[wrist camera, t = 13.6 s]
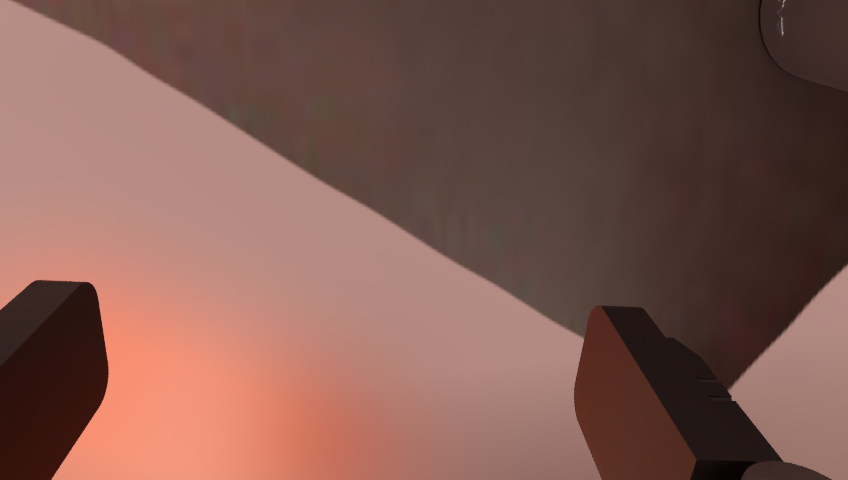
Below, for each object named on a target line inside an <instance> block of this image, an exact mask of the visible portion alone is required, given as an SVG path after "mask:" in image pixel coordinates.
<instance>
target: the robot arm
mask: <svg viewBox="0 0 848 480" xmlns="http://www.w3.org/2000/svg"><path fill="white" fill-rule="evenodd" d="M760 24H761V32H762V36H763V40H764V44H765V46H766V48H767V50H768V52H769V54H770V56H771V57H772V59H773V60H774V61H775V62H776V63H777V64H778V65H779V66H780V67H781V68H782V69H783V70H785V71H787V72H788V73H790V74H791V75H793V76H796V77H799V78H802V79H805V80H809V81H812V82H816V83H819V84H823V85H827V86H830V87H834V88H837V89H841V90H844V91H847V92H848V0H762V4H761V9H760ZM107 383H108V361H107V354H106V348H105V341H104V334H103V328H102V321H101V315H100V308H99V302H98V296H97V292H96V290H95V288H94V286H93V285H92V284H90V283H88V282H72V281H47V280H37V281H34V282H32V283H31V284H30V285H28V286H27V287H26V288H25V289H24V290H23V291H22V292H21V293H20V294H18V295H17V296H16V297H15V298H14V299H13V300H12V301H10V302H9V303H8V304H7V305H6V306H5V307H3V308H2V309H1V310H0V480H51V479H52V477H53V476H54V474H55V473H56V471H57V470H58V468H59V467H60V465H61V464H62V462H63V461H64V459H65V458H66V456H67V455H68V453H69V452H70V450H71V449H72V447H73V446H74V444H75V443H76V441H77V440H78V438H79V437H80V435H81V434H82V432H83V431H84V429H85V428H86V426H87V425H88V423H89V422H90V420H91V419H92V417H93V416H94V414H95V413H96V411H97V410H98V408H99V406H100V405H101V403H102V401H103V398H104V395H105V392H106V388H107ZM731 397H732V396H731V395H730V394H729V392H728V391H727V390H726V389H725V387H724V386H723V385H722V384H721V383H718V382H717V377H716V376H715V375H714V374H713V372H712V371H711V370H710V368H709V367H708V366H707V365H706V363H705V362H704V361H703V360H702V358H701V357H700V356H698V355H697V354H695V353H694V352H693V351H691V350H690V349H688V348H687V347H685V346H684V345H683V344H681V343H680V342H678V341H677V340H675V339H674V338H665V337H664V335H663V334H662V333H661V331H660V330H659V328H658V327H657V326H656V324H655V323H654V322H653V320H652V319H651V318H650V316H649V315H648V314H647V312H646V311H645V310H644V309H643V308H640V307H621V306H595V307H594V308H593V309H592V311H591V313H590V316H589V320H588V324H587V329H586V334H585V338H584V343H583V348H582V353H581V357H580V362H579V367H578V372H577V377H576V381H575V388H574V403H575V411H576V416H577V420H578V423H579V425H580V427H581V430H582V432H583V435H584V437H585V440H586V442H587V444H588V447H589V449H590V452H591V454H592V457H593V459H594V461H595V464H596V466H597V468H598V471H599V473H600V476H601V478H602V480H832V479H830V478H828V477H826V476H824V475H822V474H820V473H818V472H816V471H814V470H811V469H808V468H805V467H803V466H799V465H796V464H792V463H786V462H783V460H782V459H781V458H780V457H779V455H778V454H777V453H776V452H775V450H774V449H773V448H772V447H771V445H770V444H769V443H768V442H767V440H766V439H765V438H764V437H763V435H762V434H761V433H760V431H759V430H758V429H757V428H756V426H755V425H754V424H753V423H752V421H751V420H750V419H749V418H748V416H747V415H746V414H745V413H744V411H743V410H742V409H741V408H740V407H739V405H738V404H737V402H736V401H732V399H731Z"/></svg>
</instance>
